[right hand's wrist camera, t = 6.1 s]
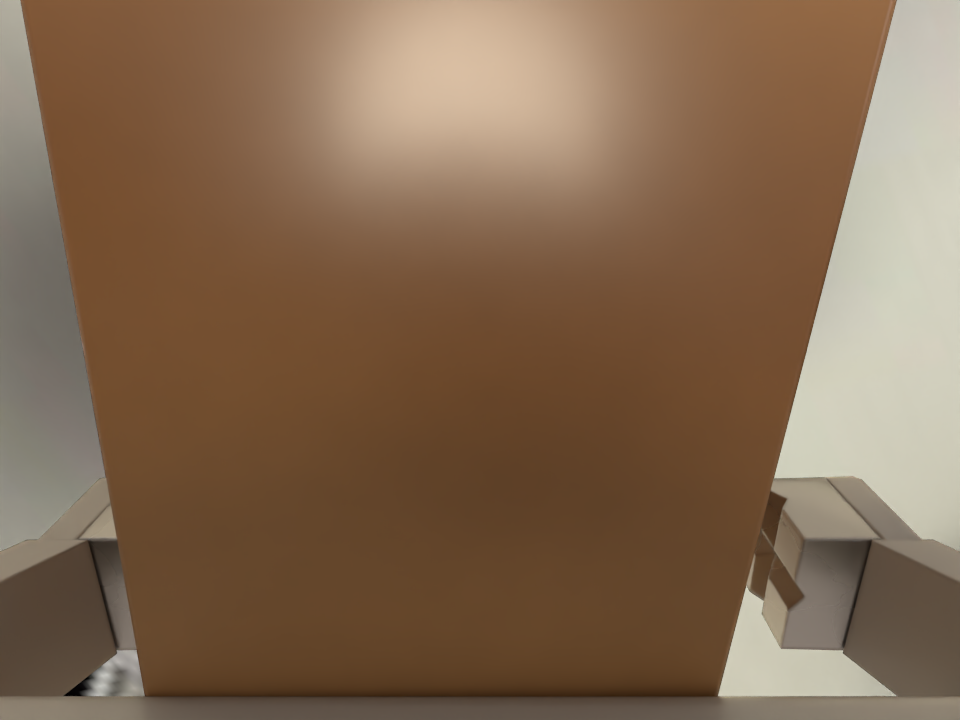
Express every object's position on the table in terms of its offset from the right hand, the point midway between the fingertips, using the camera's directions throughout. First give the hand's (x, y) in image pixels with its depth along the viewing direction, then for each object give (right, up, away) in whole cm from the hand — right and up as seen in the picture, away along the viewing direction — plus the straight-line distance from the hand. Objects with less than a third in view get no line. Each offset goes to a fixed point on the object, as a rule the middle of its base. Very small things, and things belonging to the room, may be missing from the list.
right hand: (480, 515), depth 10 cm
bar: (0, +11, 0) cm, 11 cm away
